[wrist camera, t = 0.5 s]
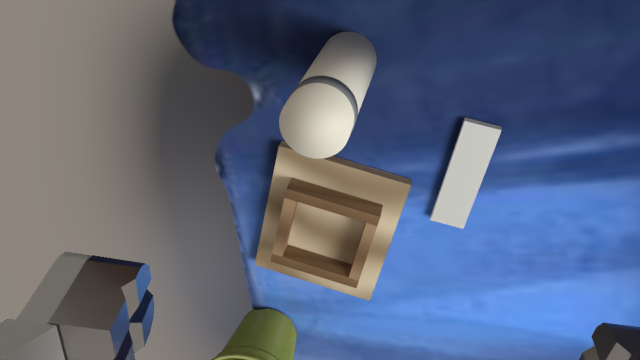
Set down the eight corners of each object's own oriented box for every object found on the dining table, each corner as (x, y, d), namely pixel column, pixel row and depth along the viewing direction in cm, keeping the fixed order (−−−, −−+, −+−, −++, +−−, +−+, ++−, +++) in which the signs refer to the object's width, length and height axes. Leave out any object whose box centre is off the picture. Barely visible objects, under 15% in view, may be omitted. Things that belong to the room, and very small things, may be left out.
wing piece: (464, 115, 48) (464, 120, 47) (500, 124, 48) (501, 130, 47) (430, 212, 54) (430, 220, 53) (463, 221, 53) (463, 228, 52)
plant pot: (326, 321, 62) (308, 385, 55) (292, 371, 67) (271, 436, 60) (247, 281, 62) (218, 340, 55) (218, 334, 67) (188, 396, 60)
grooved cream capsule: (327, 24, 46) (285, 82, 36) (384, 39, 46) (359, 103, 35) (315, 77, 49) (272, 147, 38) (369, 92, 49) (341, 168, 38)
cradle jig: (281, 140, 53) (272, 156, 50) (411, 179, 52) (409, 197, 49) (257, 258, 60) (248, 277, 57) (371, 294, 59) (366, 314, 57)
